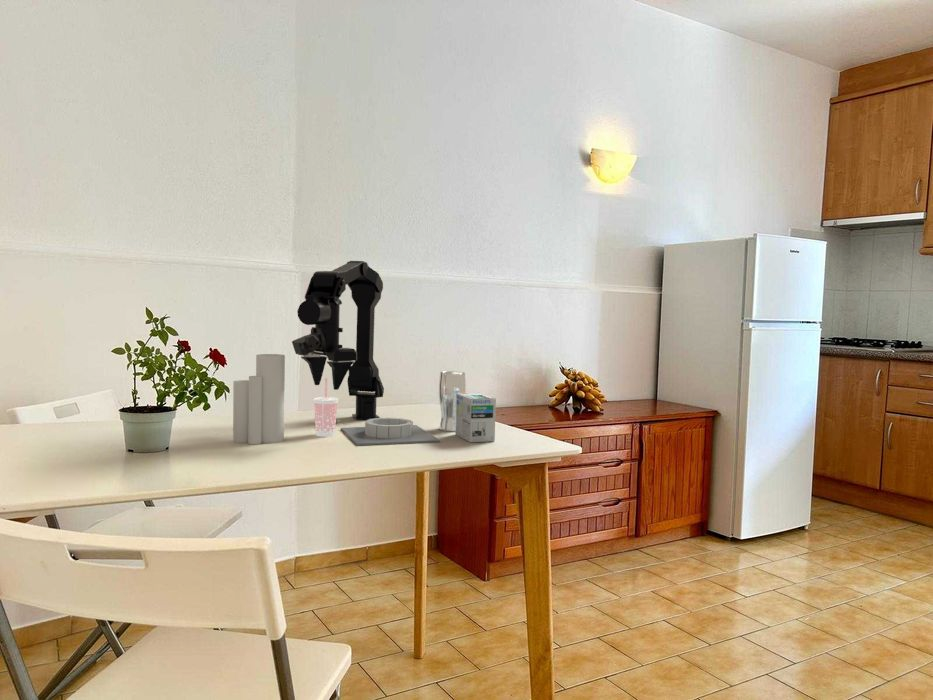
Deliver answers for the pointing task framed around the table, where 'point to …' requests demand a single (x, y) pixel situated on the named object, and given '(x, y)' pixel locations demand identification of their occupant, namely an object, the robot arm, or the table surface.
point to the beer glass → (450, 397)
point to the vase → (260, 402)
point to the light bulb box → (475, 417)
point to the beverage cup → (325, 414)
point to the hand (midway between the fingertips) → (326, 387)
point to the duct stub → (388, 432)
